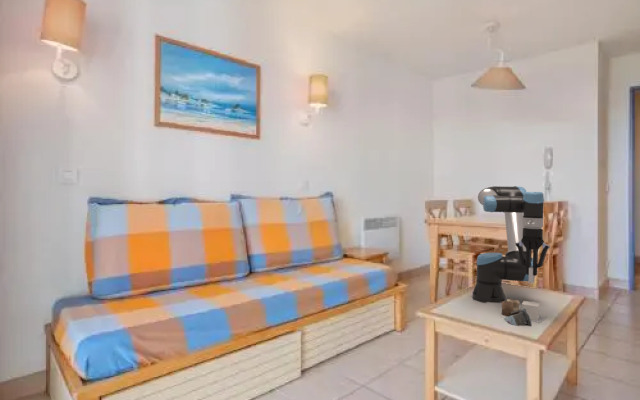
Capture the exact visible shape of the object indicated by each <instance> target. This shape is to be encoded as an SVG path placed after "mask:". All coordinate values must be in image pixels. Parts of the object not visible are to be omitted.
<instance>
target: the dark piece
mask: <svg viewBox="0 0 640 400" xmlns="http://www.w3.org/2000/svg"><path fill="white" fill-rule="evenodd" d="M503 320H505V322H508V323H509V324H510V325H512V326H516V327H519V326H525V325H527V326H530V327H531V326H532V321H531V319H530V318H529V315H528V314H527V312H526V309H522V308H519V310H517V311H514V312H511V314H510V316H505V317H504V318H503Z"/></svg>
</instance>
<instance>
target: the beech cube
mask: <svg viewBox="0 0 640 400" xmlns="http://www.w3.org/2000/svg"><path fill="white" fill-rule="evenodd" d="M506 301H509V302H512V303H513V312H514V311H517V310H520V300H517V299H509V298H507V299H506Z"/></svg>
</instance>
